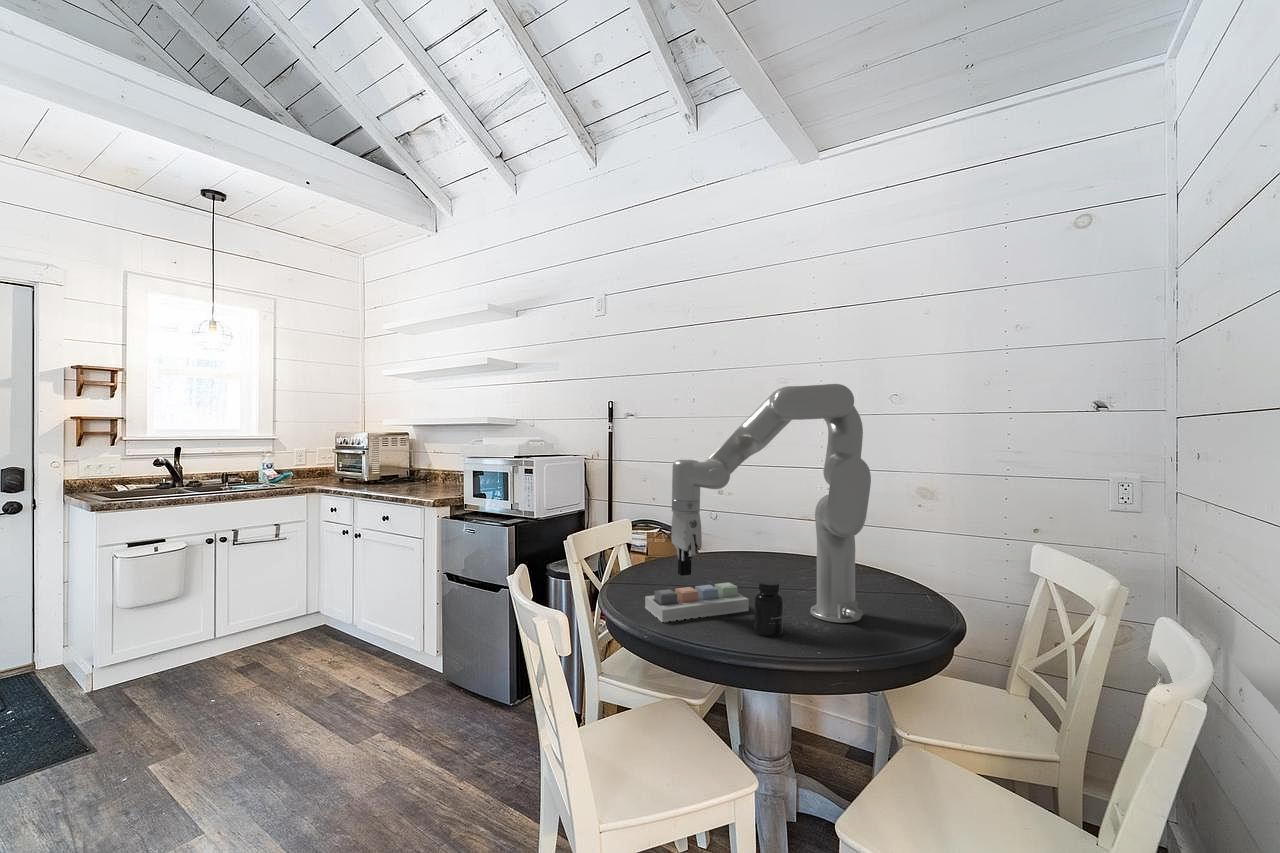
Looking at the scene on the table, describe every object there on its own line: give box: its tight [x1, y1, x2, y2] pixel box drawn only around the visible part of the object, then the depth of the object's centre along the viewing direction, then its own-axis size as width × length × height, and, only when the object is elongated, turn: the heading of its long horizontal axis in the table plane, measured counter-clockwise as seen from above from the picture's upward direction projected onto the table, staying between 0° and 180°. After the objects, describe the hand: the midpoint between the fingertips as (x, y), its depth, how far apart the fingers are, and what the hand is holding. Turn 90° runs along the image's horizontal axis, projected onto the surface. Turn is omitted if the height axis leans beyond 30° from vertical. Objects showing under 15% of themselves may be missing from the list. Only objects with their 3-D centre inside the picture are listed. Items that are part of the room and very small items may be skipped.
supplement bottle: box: [753, 579, 784, 638], centre depth 138 cm, size 7×7×12 cm
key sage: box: [714, 582, 739, 598], centre depth 158 cm, size 5×5×3 cm
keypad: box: [644, 592, 750, 623], centre depth 155 cm, size 12×25×3 cm, turn 110°
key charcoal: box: [653, 588, 677, 606], centre depth 152 cm, size 5×5×3 cm
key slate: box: [694, 584, 718, 601], centre depth 156 cm, size 5×5×3 cm
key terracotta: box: [674, 586, 698, 603], centre depth 154 cm, size 5×5×3 cm
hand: (684, 574), depth 154 cm, fingers closed
